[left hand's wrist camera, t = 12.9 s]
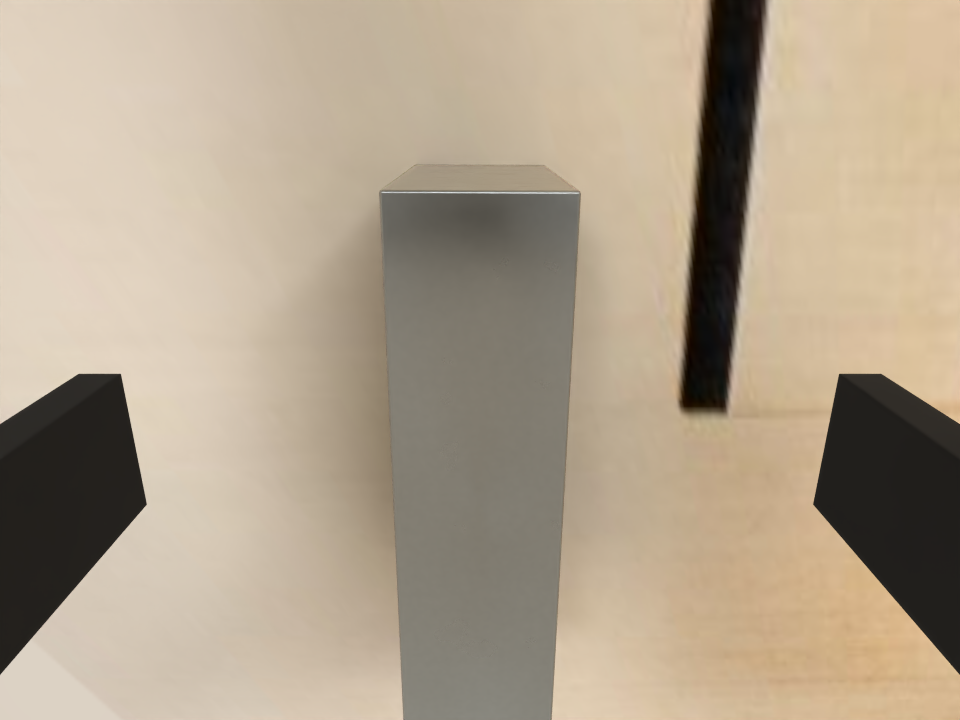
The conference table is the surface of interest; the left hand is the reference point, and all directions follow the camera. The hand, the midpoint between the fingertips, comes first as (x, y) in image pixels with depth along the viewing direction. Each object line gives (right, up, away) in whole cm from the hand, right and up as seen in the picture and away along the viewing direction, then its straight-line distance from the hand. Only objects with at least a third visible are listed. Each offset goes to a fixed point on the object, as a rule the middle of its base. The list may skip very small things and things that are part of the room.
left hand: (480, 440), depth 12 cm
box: (0, 0, +22) cm, 21 cm away
